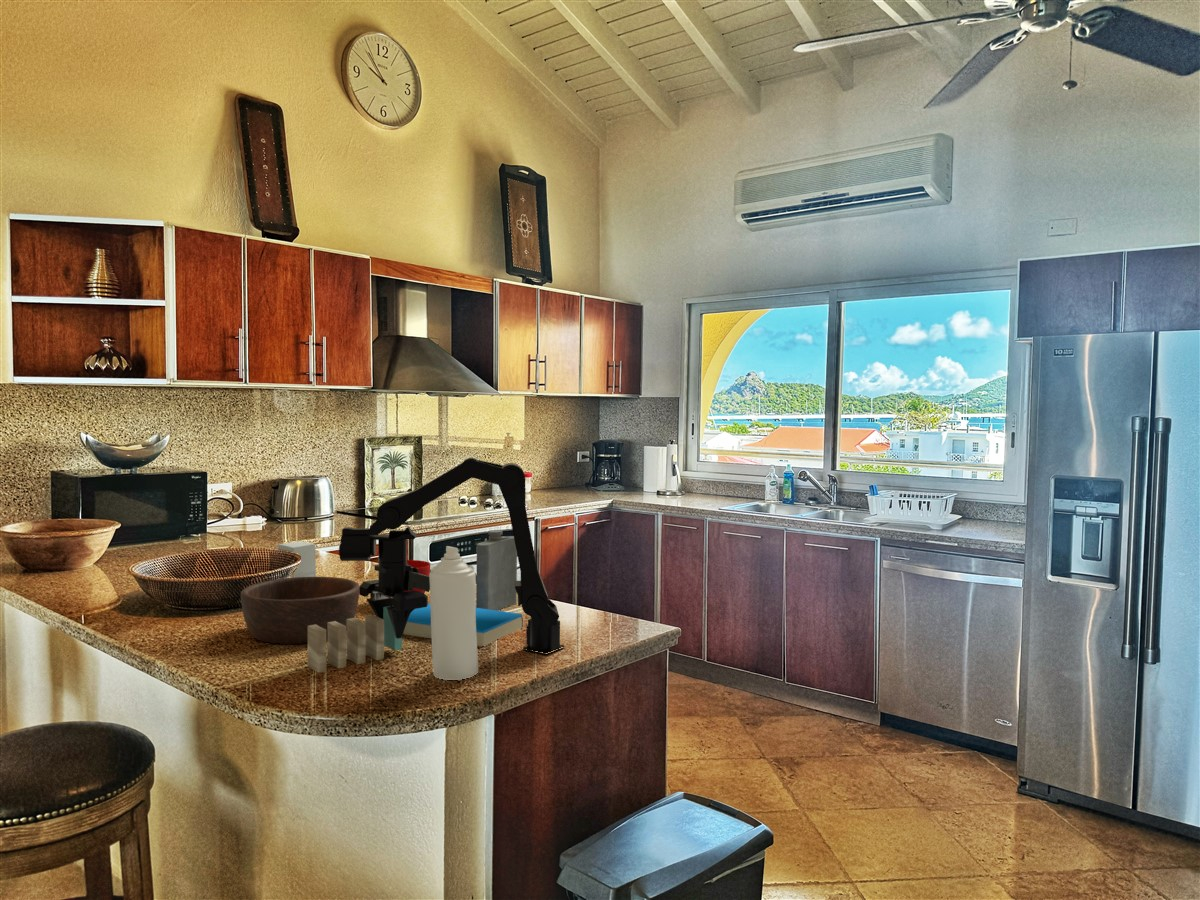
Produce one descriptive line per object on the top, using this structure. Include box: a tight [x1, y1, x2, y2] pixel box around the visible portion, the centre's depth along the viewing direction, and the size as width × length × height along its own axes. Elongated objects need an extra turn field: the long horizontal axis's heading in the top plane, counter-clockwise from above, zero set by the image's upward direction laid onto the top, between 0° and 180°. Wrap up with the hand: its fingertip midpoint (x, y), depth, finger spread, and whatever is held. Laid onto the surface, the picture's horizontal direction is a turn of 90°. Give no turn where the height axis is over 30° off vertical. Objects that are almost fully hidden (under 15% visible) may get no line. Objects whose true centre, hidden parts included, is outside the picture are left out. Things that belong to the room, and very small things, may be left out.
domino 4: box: [364, 614, 385, 661], centre depth 165 cm, size 2×5×8 cm, turn 42°
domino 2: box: [327, 621, 347, 669], centre depth 159 cm, size 2×5×8 cm, turn 42°
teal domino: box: [383, 606, 403, 651], centre depth 167 cm, size 2×5×8 cm, turn 42°
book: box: [403, 603, 524, 647], centre depth 185 cm, size 17×4×25 cm
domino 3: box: [346, 617, 366, 665], centre depth 162 cm, size 2×5×8 cm, turn 42°
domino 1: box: [307, 624, 327, 673], centre depth 157 cm, size 2×5×8 cm, turn 42°
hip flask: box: [476, 529, 518, 611], centre depth 205 cm, size 16×4×20 cm, turn 154°
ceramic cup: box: [405, 559, 431, 594], centre depth 213 cm, size 13×17×10 cm
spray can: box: [429, 545, 479, 681], centre depth 153 cm, size 12×11×25 cm
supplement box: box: [277, 540, 317, 578], centre depth 225 cm, size 7×7×13 cm
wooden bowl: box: [240, 576, 360, 645], centre depth 182 cm, size 25×25×10 cm
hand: (392, 635), depth 167 cm, fingers closed on teal domino, 5 cm apart
